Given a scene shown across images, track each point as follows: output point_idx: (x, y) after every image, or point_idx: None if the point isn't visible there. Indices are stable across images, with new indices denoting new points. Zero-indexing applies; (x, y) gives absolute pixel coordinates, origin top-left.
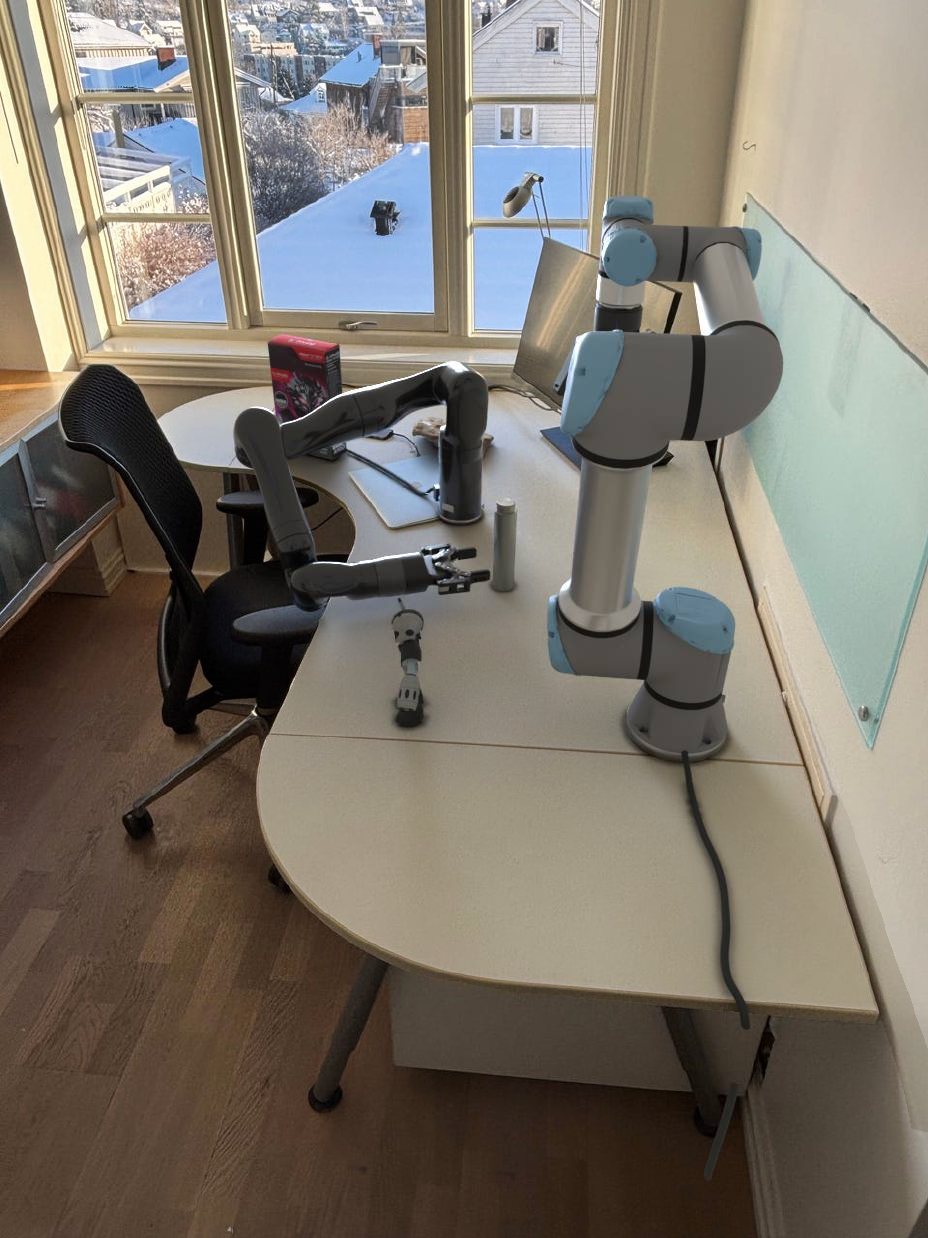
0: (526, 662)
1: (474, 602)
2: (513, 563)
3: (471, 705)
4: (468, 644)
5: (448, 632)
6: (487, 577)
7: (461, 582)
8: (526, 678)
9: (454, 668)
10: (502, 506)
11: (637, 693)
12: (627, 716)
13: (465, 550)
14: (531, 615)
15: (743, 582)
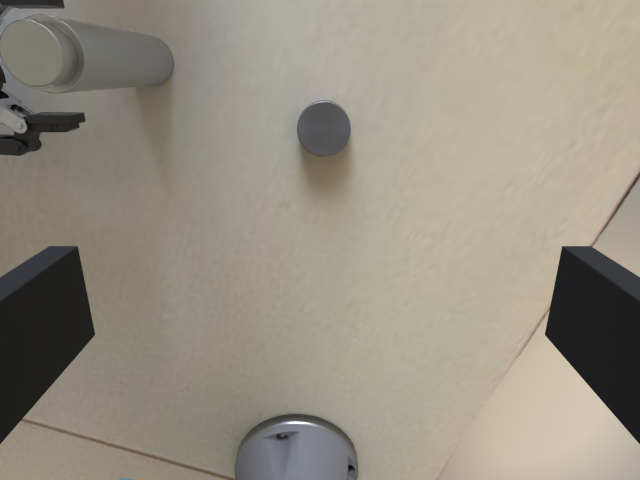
0: (144, 301)
1: (82, 108)
2: (144, 80)
3: None
4: (57, 235)
5: (24, 193)
6: (74, 128)
7: (5, 154)
8: (136, 334)
9: None
10: (17, 78)
11: (246, 476)
12: (238, 456)
13: (22, 5)
14: (183, 181)
15: (624, 183)
